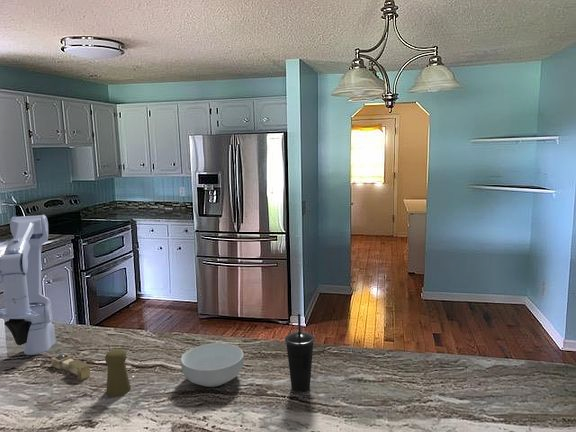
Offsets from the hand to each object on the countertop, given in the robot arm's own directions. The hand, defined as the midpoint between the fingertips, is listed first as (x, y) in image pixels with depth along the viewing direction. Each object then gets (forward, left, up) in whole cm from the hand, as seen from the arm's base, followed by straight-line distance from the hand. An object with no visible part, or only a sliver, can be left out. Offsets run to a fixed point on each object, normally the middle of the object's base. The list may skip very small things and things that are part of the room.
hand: (21, 343), depth 123 cm
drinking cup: (+5, +78, -10) cm, 79 cm away
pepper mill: (+7, +30, -10) cm, 32 cm away
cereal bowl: (+1, +54, -10) cm, 55 cm away
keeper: (+1, +16, -10) cm, 19 cm away
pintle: (-5, +8, -10) cm, 14 cm away
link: (-3, +11, -9) cm, 15 cm away
